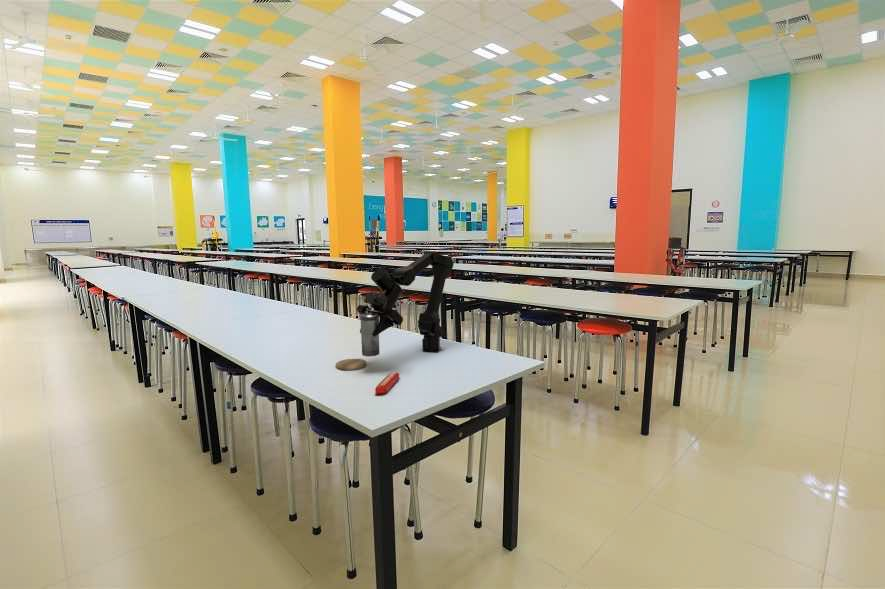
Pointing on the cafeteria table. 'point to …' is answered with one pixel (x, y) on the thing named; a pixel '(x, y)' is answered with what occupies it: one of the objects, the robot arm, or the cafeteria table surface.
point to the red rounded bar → (387, 383)
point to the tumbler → (369, 334)
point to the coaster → (351, 364)
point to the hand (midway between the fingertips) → (367, 334)
